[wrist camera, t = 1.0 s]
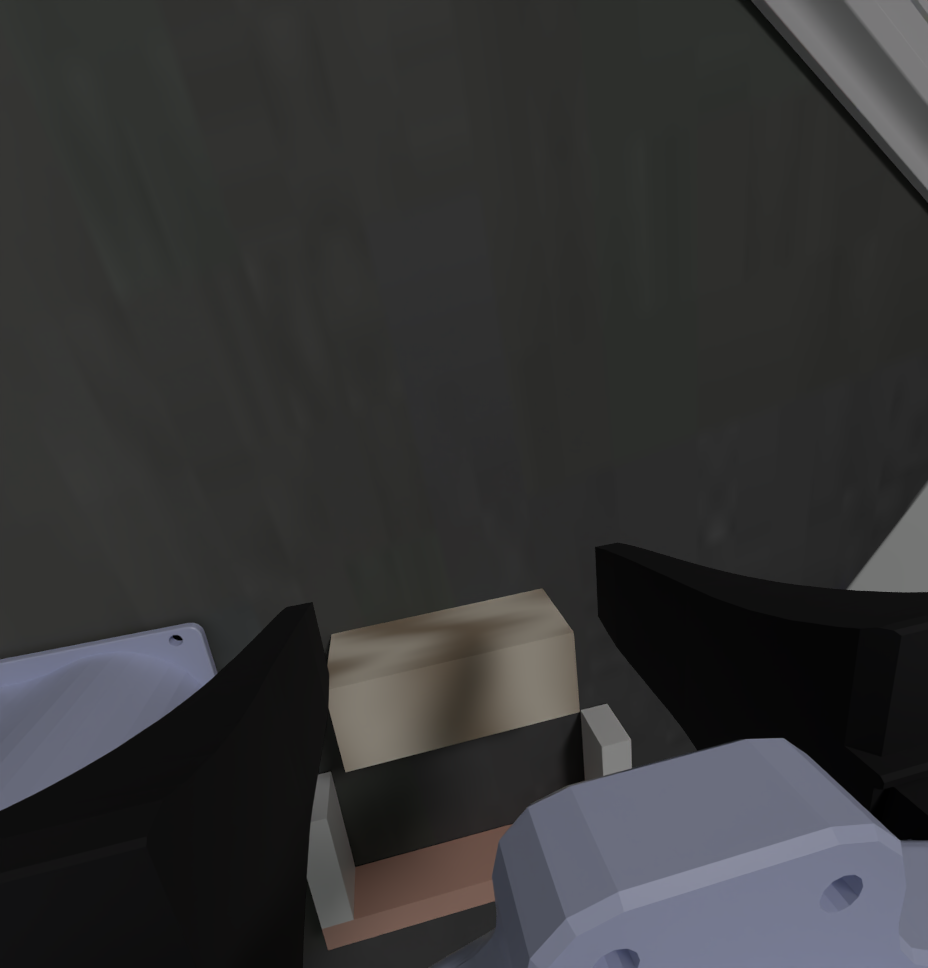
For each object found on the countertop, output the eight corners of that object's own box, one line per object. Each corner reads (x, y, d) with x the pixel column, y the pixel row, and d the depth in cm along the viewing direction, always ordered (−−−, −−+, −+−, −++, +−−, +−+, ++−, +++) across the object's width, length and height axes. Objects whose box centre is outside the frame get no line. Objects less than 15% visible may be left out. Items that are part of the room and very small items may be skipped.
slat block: (349, 703, 23) (345, 772, 19) (331, 631, 22) (323, 690, 18) (547, 656, 25) (579, 711, 21) (541, 586, 23) (573, 632, 20)
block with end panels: (332, 895, 26) (328, 950, 24) (299, 779, 24) (291, 827, 21) (611, 816, 28) (633, 859, 26) (606, 703, 26) (630, 739, 23)
